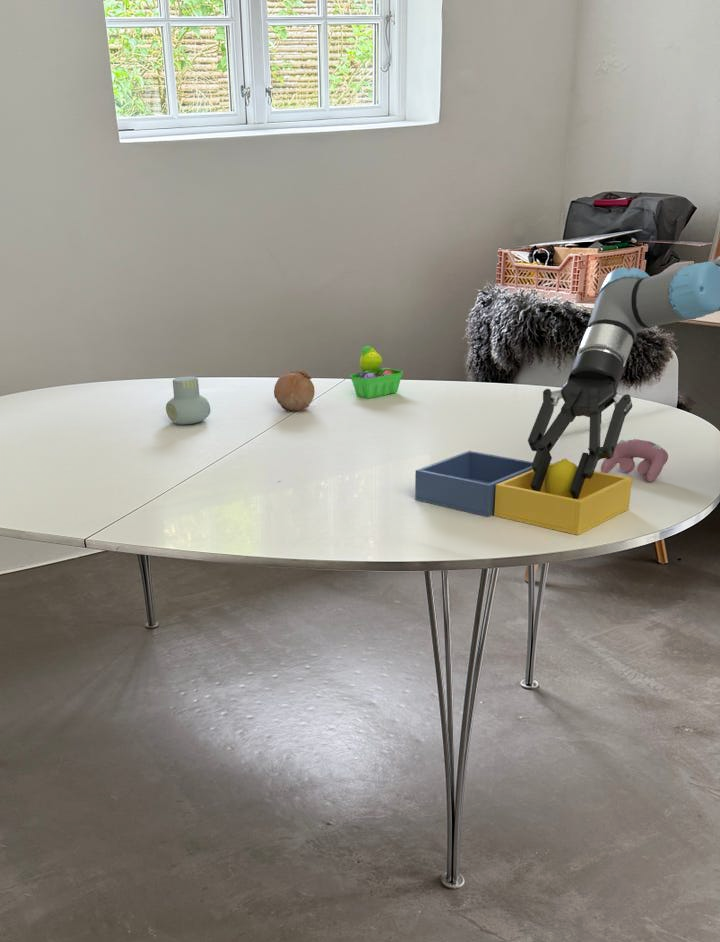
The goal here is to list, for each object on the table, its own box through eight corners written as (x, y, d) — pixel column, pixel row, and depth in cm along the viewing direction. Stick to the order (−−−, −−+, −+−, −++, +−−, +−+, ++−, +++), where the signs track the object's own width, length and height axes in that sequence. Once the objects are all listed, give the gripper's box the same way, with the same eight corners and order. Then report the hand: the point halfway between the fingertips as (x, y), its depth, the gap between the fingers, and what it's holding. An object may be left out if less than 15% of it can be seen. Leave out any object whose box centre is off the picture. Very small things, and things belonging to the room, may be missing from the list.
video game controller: (661, 487, 161) (675, 447, 160) (651, 481, 157) (665, 440, 156) (607, 477, 168) (620, 438, 167) (596, 471, 164) (609, 432, 163)
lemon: (535, 510, 149) (538, 460, 145) (554, 500, 152) (558, 451, 148) (567, 517, 145) (571, 466, 141) (586, 507, 148) (590, 457, 145)
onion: (306, 419, 229) (321, 378, 227) (304, 417, 220) (320, 375, 218) (270, 405, 230) (284, 365, 227) (266, 403, 220) (281, 361, 218)
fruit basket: (367, 400, 229) (366, 352, 224) (346, 395, 236) (345, 348, 232) (404, 392, 234) (405, 345, 229) (383, 387, 241) (382, 341, 236)
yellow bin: (628, 509, 148) (632, 477, 145) (578, 535, 139) (581, 502, 137) (546, 492, 158) (548, 462, 156) (494, 515, 149) (495, 484, 147)
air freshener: (214, 423, 219) (211, 379, 215) (181, 429, 216) (177, 384, 212) (196, 415, 228) (192, 372, 224) (164, 420, 225) (159, 377, 221)
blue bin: (540, 493, 158) (542, 463, 155) (488, 516, 149) (489, 485, 147) (467, 478, 168) (468, 450, 165) (414, 499, 159) (415, 470, 157)
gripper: (664, 379, 146) (619, 512, 142) (547, 372, 157) (502, 496, 152) (658, 350, 140) (611, 488, 136) (537, 345, 151) (490, 473, 146)
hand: (554, 492), depth 144 cm, fingers closed on lemon, 5 cm apart
